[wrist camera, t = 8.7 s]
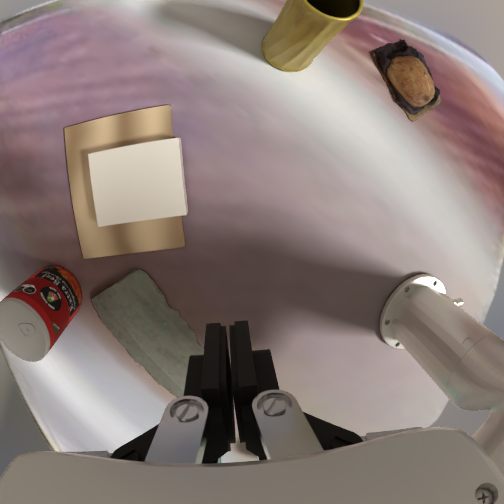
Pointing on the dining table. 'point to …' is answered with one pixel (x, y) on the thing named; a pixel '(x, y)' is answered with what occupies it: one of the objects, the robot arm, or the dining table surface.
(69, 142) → the mat
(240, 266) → the dining table surface
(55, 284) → the canned food
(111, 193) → the tile
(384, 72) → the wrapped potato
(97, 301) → the stone slab
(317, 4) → the vase
